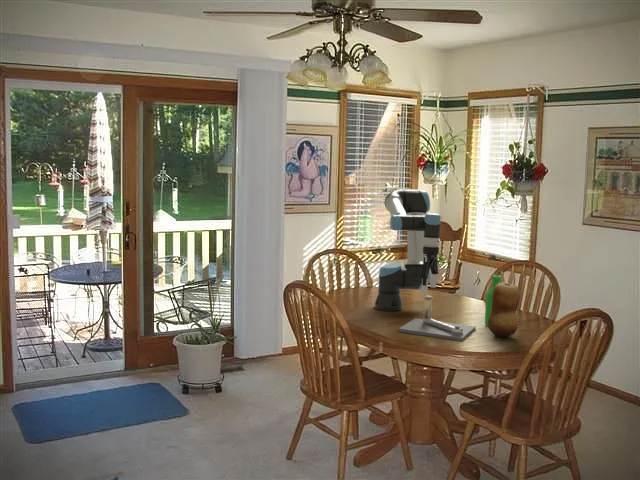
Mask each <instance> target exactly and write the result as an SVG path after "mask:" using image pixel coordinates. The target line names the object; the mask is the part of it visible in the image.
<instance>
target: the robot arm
mask: <svg viewBox="0 0 640 480" xmlns="http://www.w3.org/2000/svg"><path fill="white" fill-rule="evenodd" d="M430 200H431V199H430V195H429V193H428V191H426V190H424V189H423V190H422V189H402V188H399V189H395V190H393V191H391V192H389V193H388V194H387V195H386V196H385V198H384V202H383V204H384V208H385V209H386V210H387V212H389V214H390V219H389V226H390V230H392V231H397V232H399V231H402V232H403V231H404V232H405V231H407V261H406V262H405V263H404V267H403V266H402V265H401V264H398V263H397V264H394V263H393V264H387V265H383V266H380V268H379V272H378V289H377V290H378V291H377V292H378V293H377V296H376V298H375V302H374V305H373V306H374V309H376V310H379V311H386V312H397V311H402V310H403V309H404V308H403V307H404V305H403V301H402V296H401V290H412V291H413V290H416V291H420V290H421V293H426V294H427V293H428V289H429V288H428V286H429V287H430V288H434V289H435V288H436V287H437V275H439V267H438V255H439V254H440V252H439V251H440V246H439V245H440V242H441V239H440V234H441V223H442V222H441V220H442V219H441V214H439V213H433V212H432V213H429V211H430V210H431V209H430V208H431V201H430ZM424 255H425V256H424ZM430 272H431V273H430ZM429 281H430V282H429Z"/></svg>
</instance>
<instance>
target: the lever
mask: <svg viewBox="0 0 640 480" xmlns="http://www.w3.org/2000/svg"><path fill="white" fill-rule="evenodd" d="M423 298H424V302H423V303H424V304H423V317H422V319H423V322H426V323H428V324H431V325H434V326H437V327H439V328H442V329H445V330H448V331H451V333H453V334H463V329H462V328H460V326H455V327H454V326H451V325H448V324H446V323H447V322H446V323H443V322H444V321H439V320H437V319H433V318H432V310H433V308H432V305H433V304H432V303H433V299H434V296H433V295H431V294H428V295H427V294H424V295H423Z"/></svg>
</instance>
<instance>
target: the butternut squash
mask: <svg viewBox="0 0 640 480" xmlns="http://www.w3.org/2000/svg"><path fill="white" fill-rule="evenodd" d="M520 296H521V293H520V288H519V286H518V285H516V284H511V283H507V282H501V283H498V284H497V285H496V286H495V288H494V291H493V296H492V311H491V314H490V316H489V319H488V326H487V327H488V329H489V331H490V332H491V334H493V335H494V336H495V337H496V338H501V339H502V338H509V337H511V336H512V335H514V334H515V333H517V330H518V327H519V321H518V315H517V310H518V307H519V302H520Z"/></svg>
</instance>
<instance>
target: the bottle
mask: <svg viewBox="0 0 640 480" xmlns="http://www.w3.org/2000/svg"><path fill="white" fill-rule="evenodd" d="M491 279H492V285H491V288H489V290H488V292H487V293H486V296H485V298H486V299H485V310H484V311H485V313H484V324H485V325H486V326H487V327H489V326H488V319H489V316H490V314H491V311H492V296H493V291H494V288H495V286H496V285H497V284H498V283H502V276H501V275H498V274H493V275H492V278H491Z"/></svg>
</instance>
